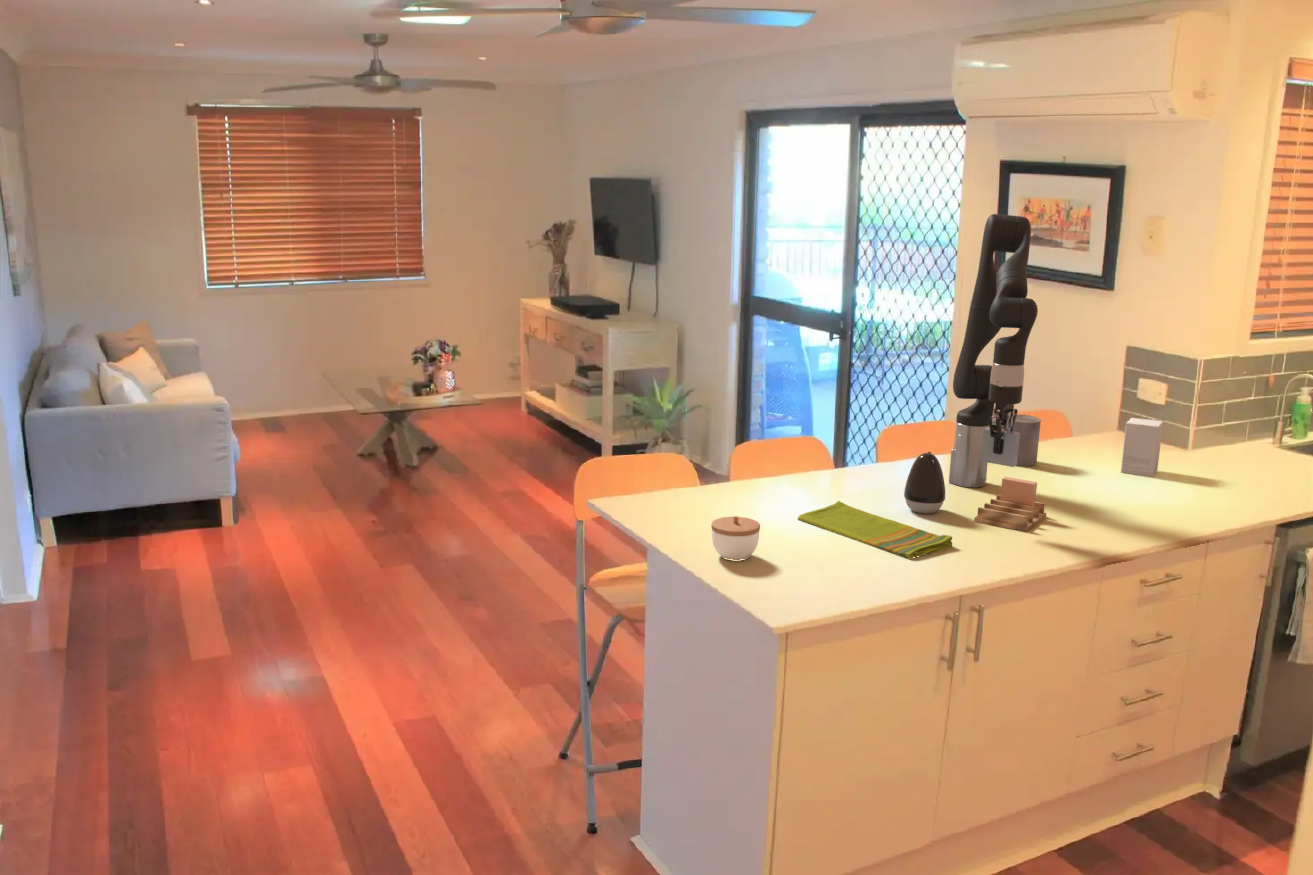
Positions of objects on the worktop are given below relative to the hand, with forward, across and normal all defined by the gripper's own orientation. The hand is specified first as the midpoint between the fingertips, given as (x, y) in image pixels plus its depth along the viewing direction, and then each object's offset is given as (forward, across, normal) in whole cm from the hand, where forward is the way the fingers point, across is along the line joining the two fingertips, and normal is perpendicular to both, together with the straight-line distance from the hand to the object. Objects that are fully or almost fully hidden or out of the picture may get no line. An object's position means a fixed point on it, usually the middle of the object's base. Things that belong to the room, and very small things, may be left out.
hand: (999, 452), depth 263 cm
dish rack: (+19, -8, +2) cm, 20 cm away
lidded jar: (+18, +59, -37) cm, 72 cm away
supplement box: (+20, -77, +16) cm, 81 cm away
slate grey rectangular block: (-1, 0, 0) cm, 1 cm away
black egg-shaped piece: (+19, 0, -18) cm, 26 cm away
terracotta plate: (+14, -12, +2) cm, 19 cm away
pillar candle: (+20, -64, -15) cm, 69 cm away
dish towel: (+19, +24, -21) cm, 37 cm away
